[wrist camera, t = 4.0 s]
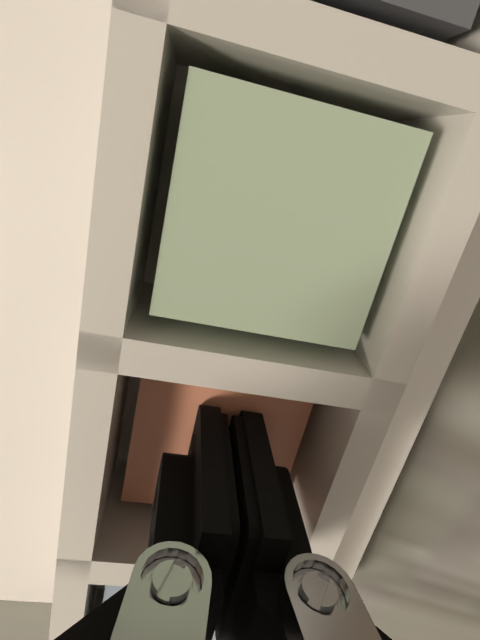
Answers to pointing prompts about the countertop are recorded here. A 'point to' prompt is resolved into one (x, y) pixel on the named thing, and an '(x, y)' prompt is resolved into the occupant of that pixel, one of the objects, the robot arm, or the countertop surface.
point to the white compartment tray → (142, 256)
